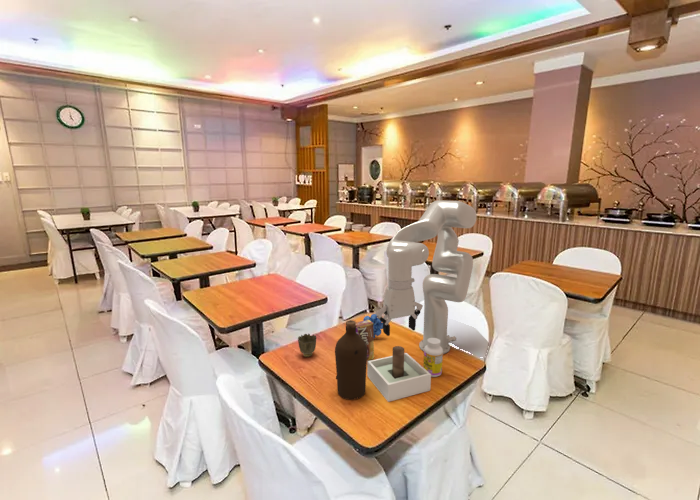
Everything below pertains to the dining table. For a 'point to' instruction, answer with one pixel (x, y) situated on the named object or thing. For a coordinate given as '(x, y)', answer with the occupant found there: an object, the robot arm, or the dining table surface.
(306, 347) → the cup
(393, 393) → the box
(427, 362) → the supplement bottle
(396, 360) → the peg
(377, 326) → the grapes
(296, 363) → the dining table surface
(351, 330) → the olive oil
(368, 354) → the candy box
